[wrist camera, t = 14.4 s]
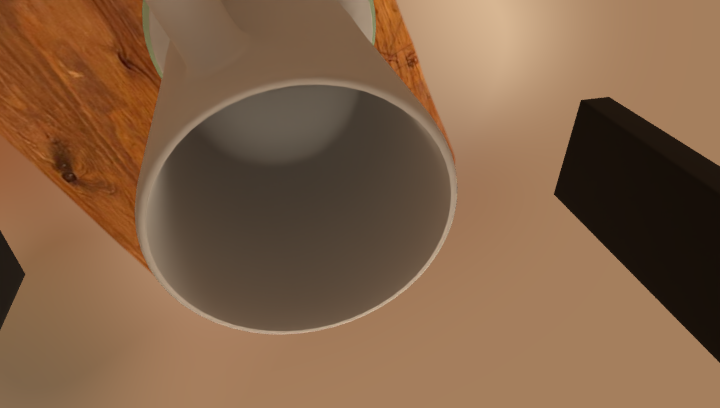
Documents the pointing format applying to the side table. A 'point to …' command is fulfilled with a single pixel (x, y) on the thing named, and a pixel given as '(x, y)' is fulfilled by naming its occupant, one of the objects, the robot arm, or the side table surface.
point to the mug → (286, 168)
